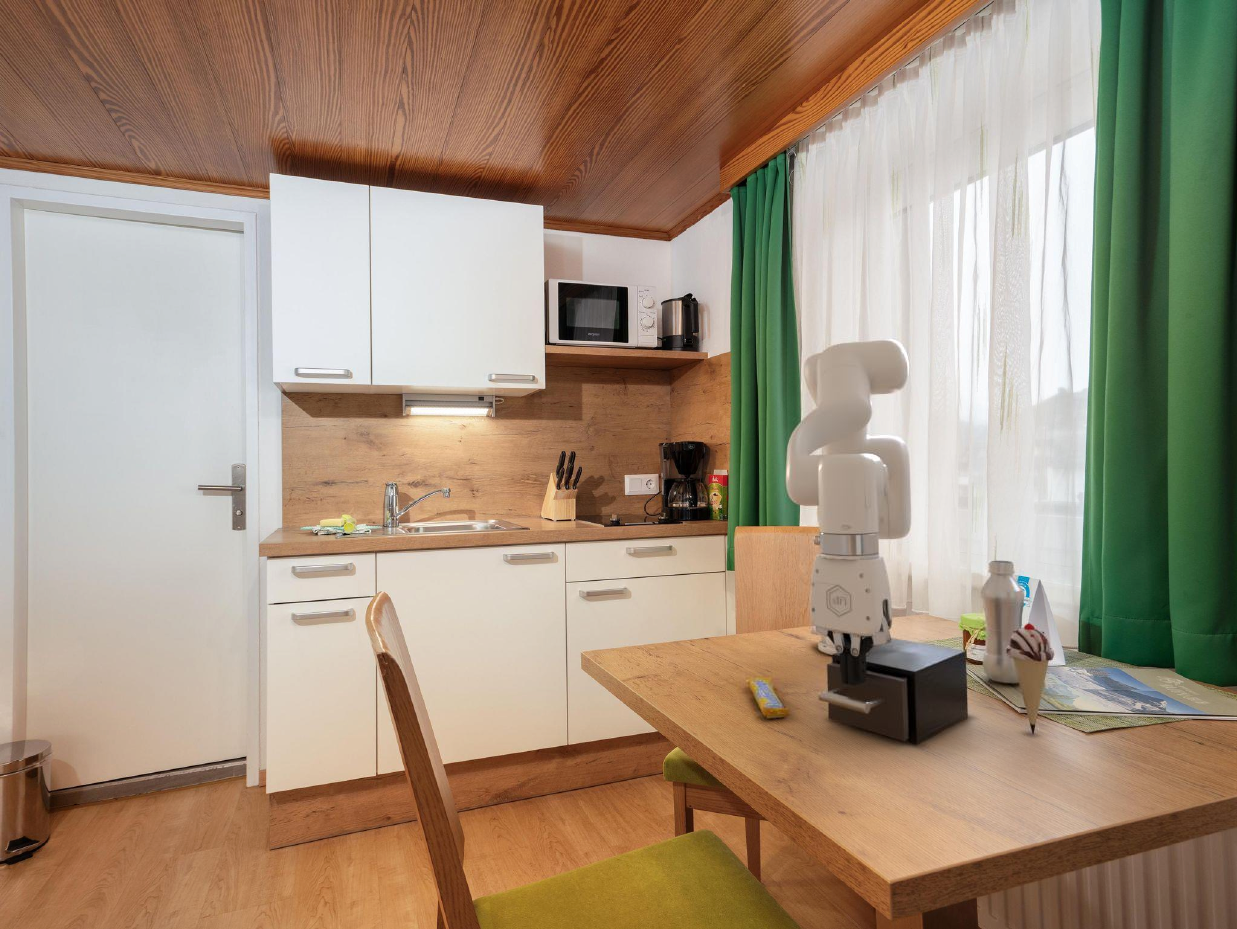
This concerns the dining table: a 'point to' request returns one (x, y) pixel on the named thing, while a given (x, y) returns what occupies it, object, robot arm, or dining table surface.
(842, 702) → the pull-out drawer
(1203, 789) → the dining table surface
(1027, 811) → the dining table surface
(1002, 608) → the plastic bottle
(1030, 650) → the ice cream cone
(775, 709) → the candy bar
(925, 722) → the small drawer cabinet
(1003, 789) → the dining table surface
